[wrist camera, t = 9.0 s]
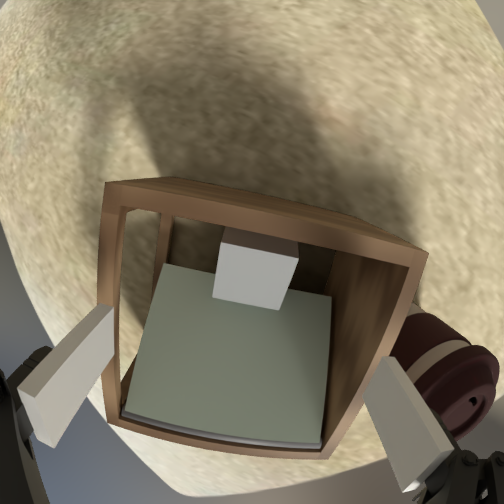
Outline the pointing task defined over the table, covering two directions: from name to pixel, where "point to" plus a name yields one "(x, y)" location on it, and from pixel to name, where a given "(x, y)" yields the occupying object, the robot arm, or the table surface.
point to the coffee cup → (447, 370)
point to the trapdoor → (231, 364)
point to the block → (254, 268)
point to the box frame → (338, 287)
